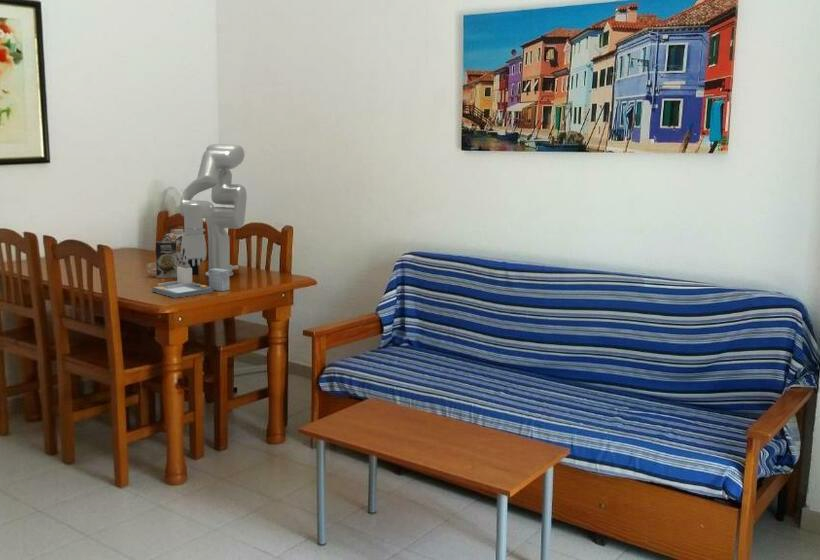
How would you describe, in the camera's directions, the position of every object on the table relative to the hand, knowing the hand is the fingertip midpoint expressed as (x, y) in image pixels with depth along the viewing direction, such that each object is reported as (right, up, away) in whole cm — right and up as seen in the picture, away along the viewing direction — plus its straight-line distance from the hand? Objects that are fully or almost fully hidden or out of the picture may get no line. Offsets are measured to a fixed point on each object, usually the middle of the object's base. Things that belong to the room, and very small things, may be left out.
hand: (194, 274), depth 343 cm
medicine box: (+11, -7, -1) cm, 13 cm away
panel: (-3, -7, -8) cm, 11 cm away
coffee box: (-19, -1, +24) cm, 31 cm away
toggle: (-3, -4, -3) cm, 6 cm away
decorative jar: (-21, +4, +51) cm, 55 cm away
